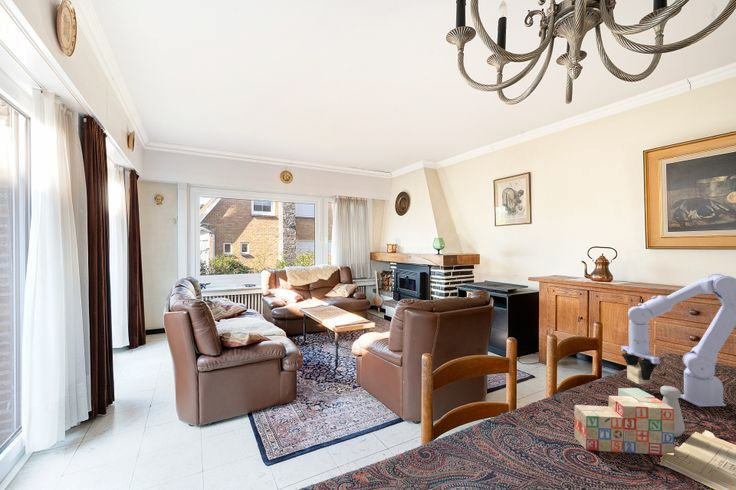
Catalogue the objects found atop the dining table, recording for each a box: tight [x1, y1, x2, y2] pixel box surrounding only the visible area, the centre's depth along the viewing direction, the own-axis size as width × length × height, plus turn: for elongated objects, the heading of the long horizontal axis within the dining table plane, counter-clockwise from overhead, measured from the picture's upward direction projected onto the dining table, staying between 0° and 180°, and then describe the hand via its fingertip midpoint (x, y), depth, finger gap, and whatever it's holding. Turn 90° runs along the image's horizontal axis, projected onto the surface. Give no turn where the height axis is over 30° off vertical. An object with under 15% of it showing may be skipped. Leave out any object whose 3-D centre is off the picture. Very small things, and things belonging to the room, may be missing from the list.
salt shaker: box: [659, 385, 686, 438], centre depth 95 cm, size 6×6×13 cm
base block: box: [617, 387, 656, 398], centre depth 114 cm, size 7×7×3 cm
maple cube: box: [626, 364, 653, 385], centre depth 123 cm, size 5×5×5 cm
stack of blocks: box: [573, 395, 675, 456], centre depth 90 cm, size 21×6×12 cm, turn 83°
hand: (639, 376), depth 123 cm, fingers closed on maple cube, 5 cm apart
